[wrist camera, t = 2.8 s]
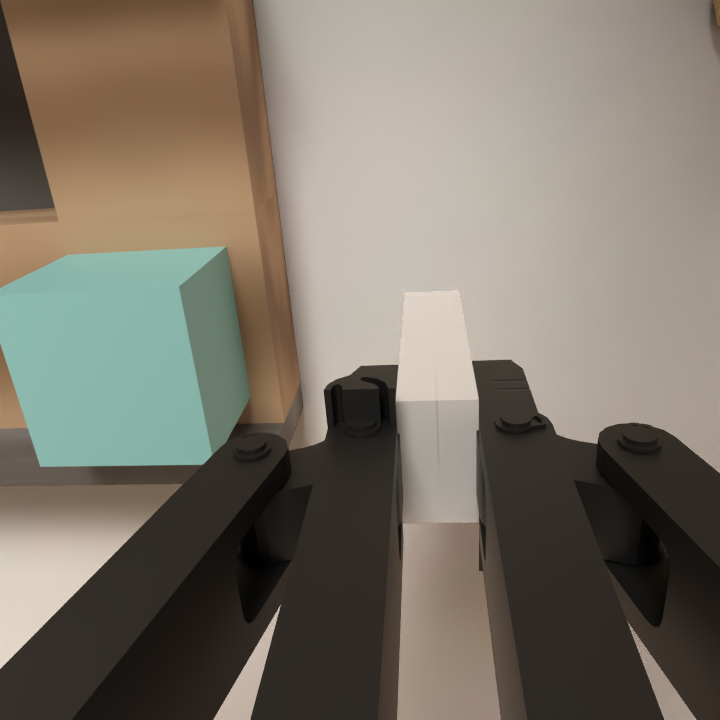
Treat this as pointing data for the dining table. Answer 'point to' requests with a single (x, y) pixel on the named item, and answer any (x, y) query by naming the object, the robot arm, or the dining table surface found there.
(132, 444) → the block
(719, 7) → the rock
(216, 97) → the trap board
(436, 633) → the dining table surface
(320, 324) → the dining table surface
